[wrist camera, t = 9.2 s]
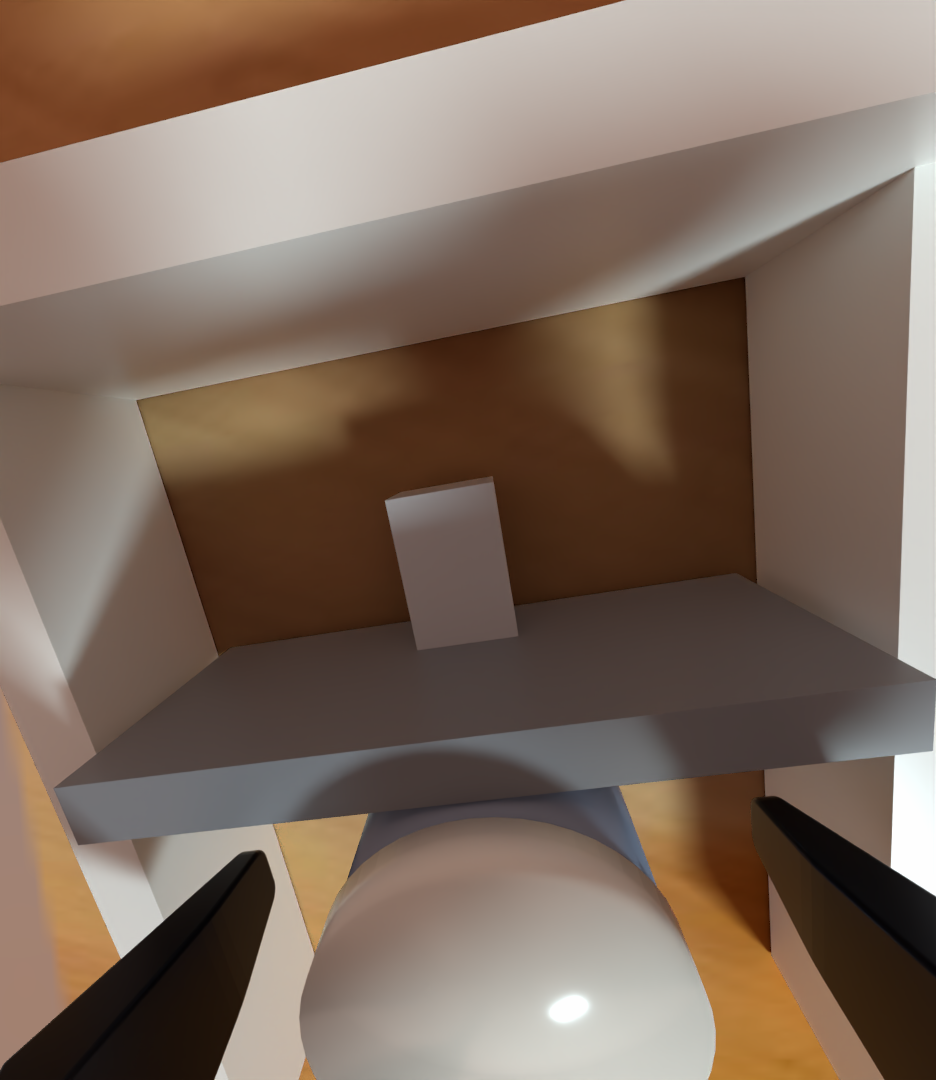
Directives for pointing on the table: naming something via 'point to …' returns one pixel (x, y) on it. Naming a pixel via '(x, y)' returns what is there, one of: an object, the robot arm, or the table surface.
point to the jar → (505, 951)
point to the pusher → (498, 697)
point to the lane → (467, 306)
